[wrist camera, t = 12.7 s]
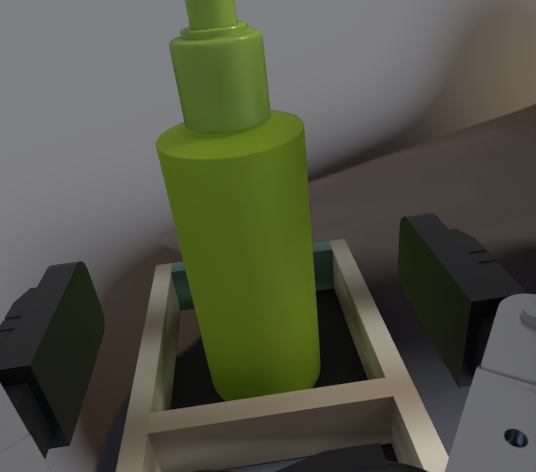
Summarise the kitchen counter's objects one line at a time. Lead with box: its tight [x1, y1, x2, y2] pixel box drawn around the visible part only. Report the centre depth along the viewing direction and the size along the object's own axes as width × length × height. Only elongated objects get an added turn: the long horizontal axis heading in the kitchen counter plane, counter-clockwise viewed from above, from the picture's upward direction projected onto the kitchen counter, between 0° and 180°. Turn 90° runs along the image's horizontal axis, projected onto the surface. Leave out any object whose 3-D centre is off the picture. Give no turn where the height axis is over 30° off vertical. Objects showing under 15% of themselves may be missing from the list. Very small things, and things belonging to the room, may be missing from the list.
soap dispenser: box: [156, 0, 321, 402], centre depth 21 cm, size 6×7×20 cm
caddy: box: [116, 239, 449, 472], centre depth 20 cm, size 24×12×3 cm, turn 6°
